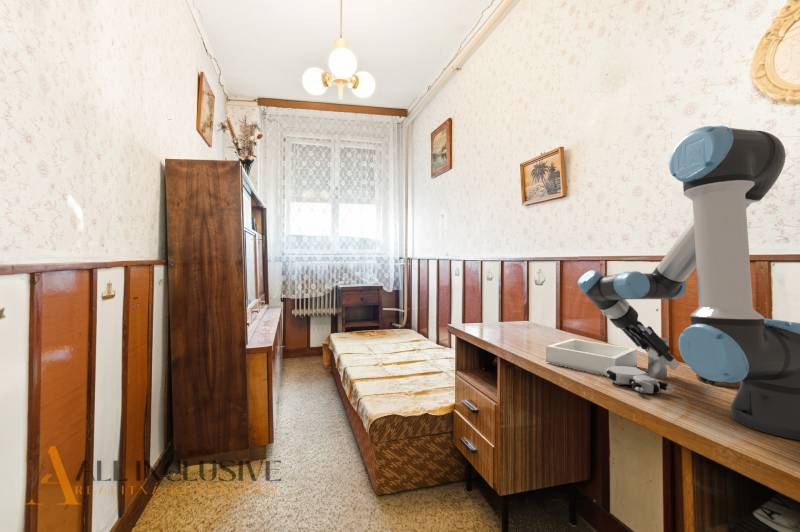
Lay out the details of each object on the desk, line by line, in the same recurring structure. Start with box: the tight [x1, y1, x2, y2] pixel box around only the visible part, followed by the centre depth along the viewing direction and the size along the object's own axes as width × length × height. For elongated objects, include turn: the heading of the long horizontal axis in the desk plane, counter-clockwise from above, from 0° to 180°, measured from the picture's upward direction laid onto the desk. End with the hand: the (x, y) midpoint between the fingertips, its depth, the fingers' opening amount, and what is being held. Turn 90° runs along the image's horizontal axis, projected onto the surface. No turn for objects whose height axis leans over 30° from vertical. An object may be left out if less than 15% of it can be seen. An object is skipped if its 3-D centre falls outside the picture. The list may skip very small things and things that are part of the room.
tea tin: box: [647, 336, 669, 380], centre depth 114 cm, size 5×5×12 cm
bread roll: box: [695, 373, 741, 388], centre depth 109 cm, size 10×10×8 cm
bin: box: [545, 338, 638, 376], centre depth 127 cm, size 22×22×6 cm
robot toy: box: [600, 366, 675, 394], centre depth 103 cm, size 12×4×15 cm
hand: (669, 364), depth 114 cm, fingers closed on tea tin, 5 cm apart
